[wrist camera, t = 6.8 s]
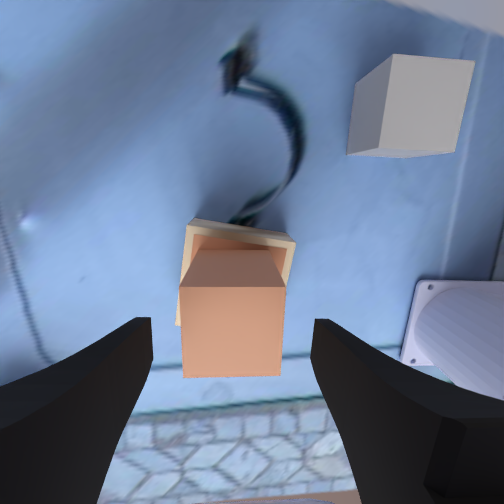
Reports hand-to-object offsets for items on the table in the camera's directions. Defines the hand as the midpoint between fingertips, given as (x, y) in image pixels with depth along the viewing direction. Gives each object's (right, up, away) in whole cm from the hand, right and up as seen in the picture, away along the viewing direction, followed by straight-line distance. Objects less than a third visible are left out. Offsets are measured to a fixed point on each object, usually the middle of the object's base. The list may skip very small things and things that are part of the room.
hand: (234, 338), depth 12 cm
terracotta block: (0, +2, +6) cm, 6 cm away
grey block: (+10, +13, +7) cm, 18 cm away
